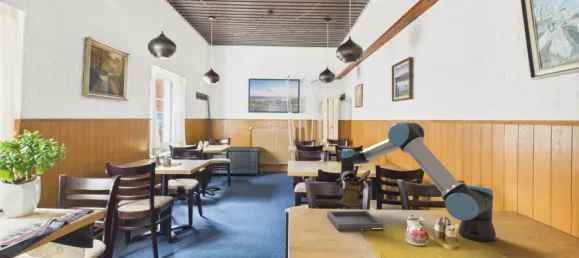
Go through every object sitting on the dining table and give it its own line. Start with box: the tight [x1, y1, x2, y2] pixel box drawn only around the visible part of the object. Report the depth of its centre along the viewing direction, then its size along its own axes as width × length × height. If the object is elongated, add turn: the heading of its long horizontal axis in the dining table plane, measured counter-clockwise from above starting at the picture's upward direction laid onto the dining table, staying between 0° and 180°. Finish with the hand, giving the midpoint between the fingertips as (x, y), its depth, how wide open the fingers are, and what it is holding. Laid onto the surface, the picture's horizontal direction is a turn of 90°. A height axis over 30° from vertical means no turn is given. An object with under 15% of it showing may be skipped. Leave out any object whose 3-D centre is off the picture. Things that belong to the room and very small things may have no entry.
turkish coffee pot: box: [340, 170, 371, 207], centre depth 164 cm, size 9×14×18 cm, turn 93°
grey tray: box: [326, 210, 384, 232], centre depth 165 cm, size 22×22×3 cm
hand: (355, 186), depth 160 cm, fingers closed on turkish coffee pot, 10 cm apart
